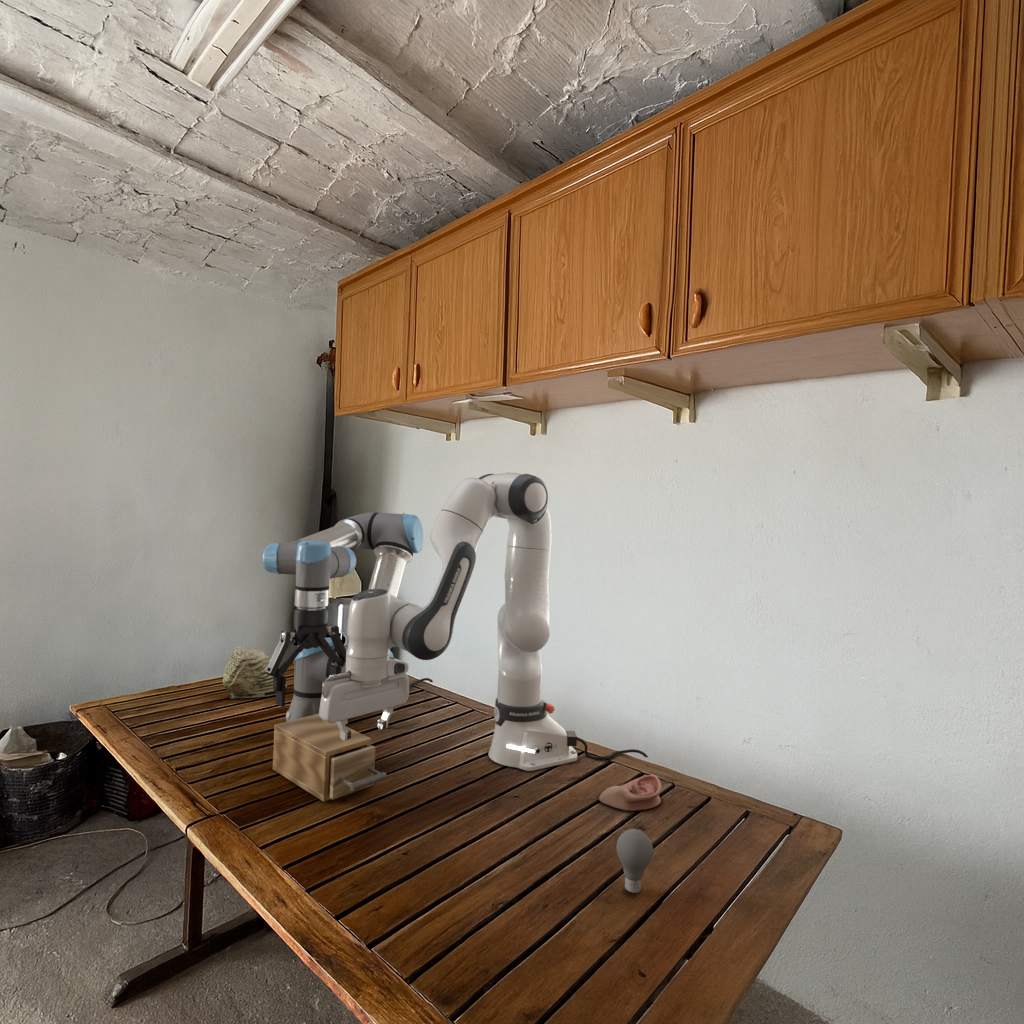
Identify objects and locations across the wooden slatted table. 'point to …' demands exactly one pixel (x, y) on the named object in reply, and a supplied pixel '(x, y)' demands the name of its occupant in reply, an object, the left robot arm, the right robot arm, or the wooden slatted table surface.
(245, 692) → the fossil
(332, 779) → the drawer
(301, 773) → the cabinet
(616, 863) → the wooden slatted table surface
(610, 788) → the anatomical model
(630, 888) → the light bulb
